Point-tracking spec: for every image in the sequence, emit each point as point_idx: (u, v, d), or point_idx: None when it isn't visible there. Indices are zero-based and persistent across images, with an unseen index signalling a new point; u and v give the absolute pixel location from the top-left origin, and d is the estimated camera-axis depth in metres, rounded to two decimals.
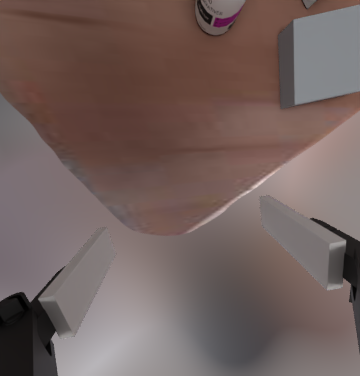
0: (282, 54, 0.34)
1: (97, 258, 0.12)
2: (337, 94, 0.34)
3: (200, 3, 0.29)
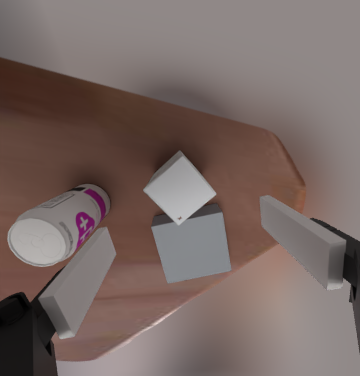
0: None
1: (97, 258, 0.12)
2: (205, 274, 0.37)
3: None
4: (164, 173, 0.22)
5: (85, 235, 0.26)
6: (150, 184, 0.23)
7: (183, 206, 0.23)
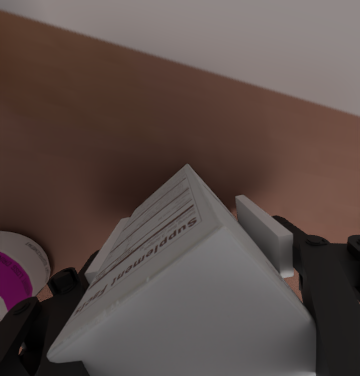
0: None
1: None
2: None
3: None
4: (132, 302, 0.05)
5: None
6: (73, 339, 0.05)
7: None
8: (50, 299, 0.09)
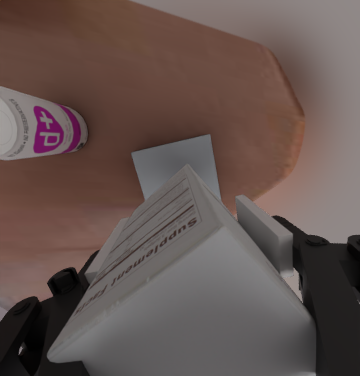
0: None
1: None
2: None
3: None
4: (132, 302, 0.05)
5: (49, 137, 0.22)
6: (73, 340, 0.05)
7: None
8: (50, 299, 0.09)
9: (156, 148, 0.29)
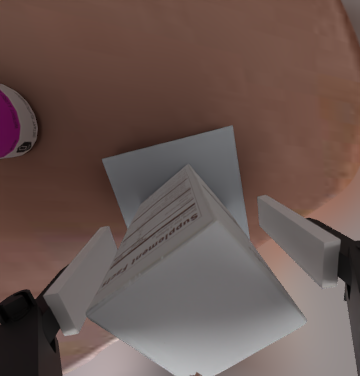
0: None
1: (100, 257, 0.12)
2: None
3: None
4: (150, 274, 0.07)
5: None
6: (106, 301, 0.07)
7: (207, 353, 0.08)
8: None
9: (143, 151, 0.18)
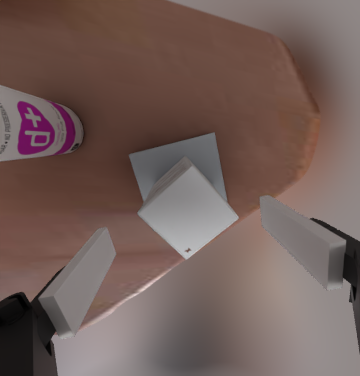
0: None
1: (97, 258, 0.12)
2: None
3: None
4: (166, 190, 0.16)
5: (36, 137, 0.20)
6: (147, 206, 0.16)
7: (192, 235, 0.17)
8: None
9: (156, 149, 0.27)
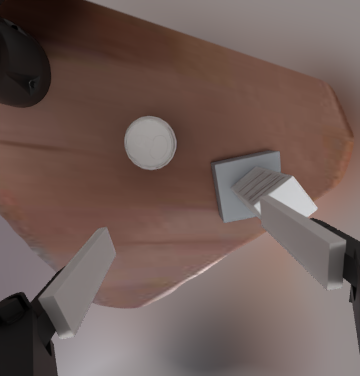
0: (214, 179, 0.41)
1: (97, 258, 0.12)
2: None
3: None
4: (274, 191, 0.25)
5: None
6: None
7: None
8: None
9: (235, 161, 0.37)
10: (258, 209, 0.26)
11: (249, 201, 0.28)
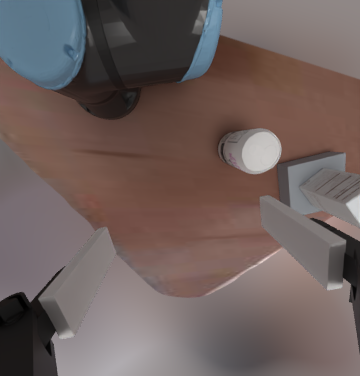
0: (280, 179, 0.46)
1: (97, 258, 0.12)
2: None
3: (224, 157, 0.40)
4: None
5: None
6: (352, 199, 0.31)
7: None
8: None
9: (306, 163, 0.41)
10: (349, 207, 0.31)
11: (336, 200, 0.33)
